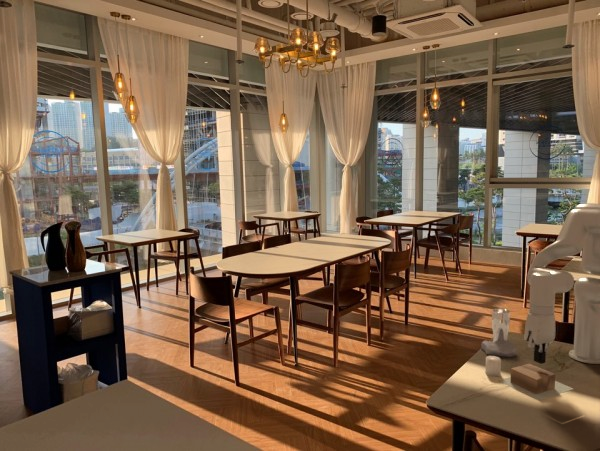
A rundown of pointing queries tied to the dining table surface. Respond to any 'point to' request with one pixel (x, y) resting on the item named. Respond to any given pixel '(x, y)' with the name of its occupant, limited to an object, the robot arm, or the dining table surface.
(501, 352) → the stone block
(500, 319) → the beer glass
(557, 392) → the mat
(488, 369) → the white rounded cylinder
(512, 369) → the block
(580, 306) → the robot arm
